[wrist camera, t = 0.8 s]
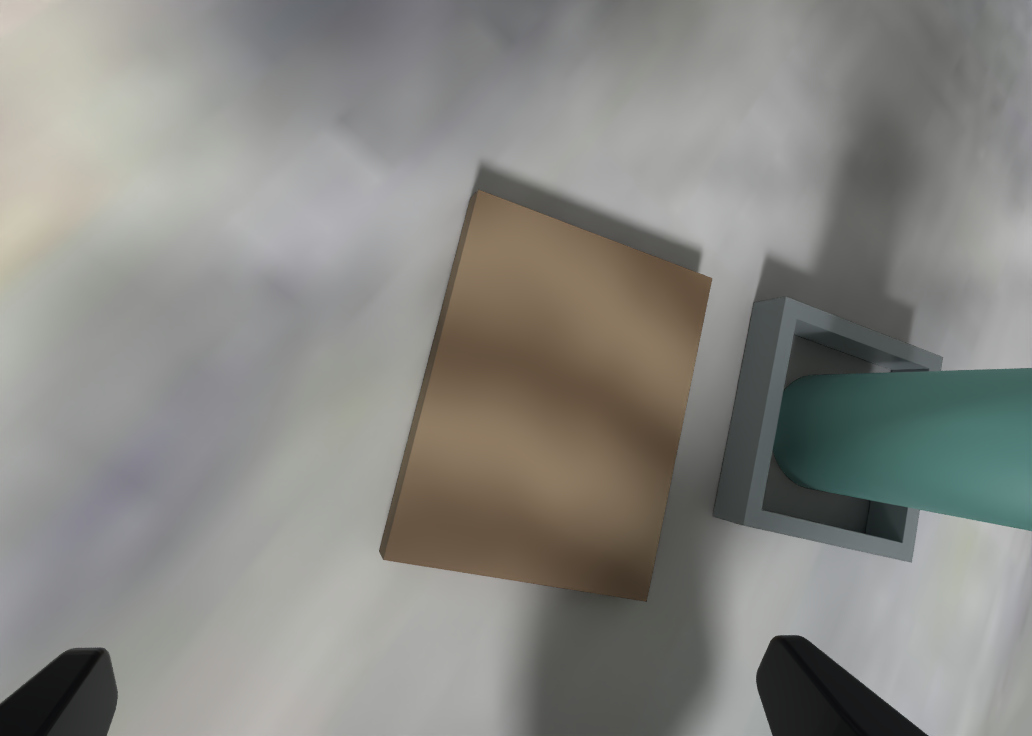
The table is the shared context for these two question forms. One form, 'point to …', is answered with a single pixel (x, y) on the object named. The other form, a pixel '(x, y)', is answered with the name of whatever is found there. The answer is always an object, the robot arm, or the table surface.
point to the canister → (915, 440)
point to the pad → (548, 407)
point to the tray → (760, 412)
